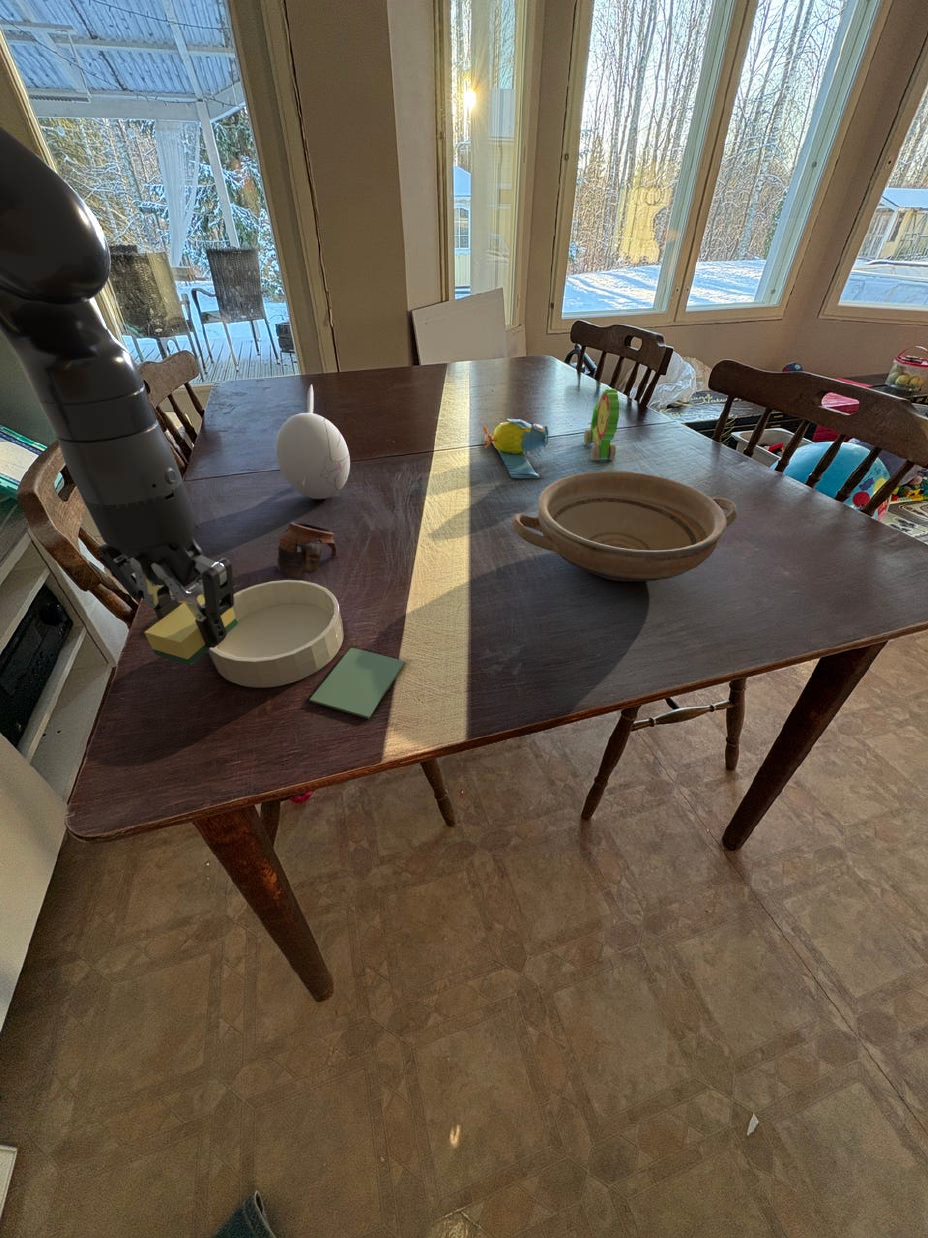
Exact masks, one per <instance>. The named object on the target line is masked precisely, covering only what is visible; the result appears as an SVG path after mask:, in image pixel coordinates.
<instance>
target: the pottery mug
mask: <svg viewBox="0 0 928 1238" xmlns="http://www.w3.org/2000/svg"><path fill="white" fill-rule="evenodd" d="M334 536H335V533H333V532H332V531H331V530H330V529H328V528H324V527H321V526H316V525H313V524H308V523H304V522H300V521H289V522H288V528H287V529H285V531H284V532H282V534H281V536H280V537H279V541H278V543H279V545H278V553H277V554H278V555H277V557H276V562H277V570H278V571H279V572H280V573H282V574H284V575H287V576H288V577H292V578H296V579H300V578H301V576H302V573H301V572H302V571H303V572H305V573H307V574H313V573H316V572H317V571H318V570H319V567H320V559H321V557H322V553H323V550H322V545H323V544H326V545H327V546H329V547H330V548H331V556H332V557H334V558H335V557H337V553H338V552H337V545H336V543H335V541H334ZM321 544H322V545H321ZM298 547H300V551H298Z"/></svg>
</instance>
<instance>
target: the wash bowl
mask: <svg viewBox="0 0 928 1238" xmlns="http://www.w3.org/2000/svg"><path fill="white" fill-rule="evenodd" d="M232 609H233V612H234V615H235V618H236V620H237V623H238V624H237V625H236V626H235V627H234V628H232V629H231V630H230V631H229V632H228V633H227V636H226V637H225V639H224V640H223V641H222V642H221V643H219V644H218V645H217V646H216V647H215V648H210V649H209V650H207V652H208V654H209V657H210V659H211V661H212V664H213V665H214V667H215V669H216V671H217V672H218V673H219V675H220V676H222V677H223V678H224V679H225V680H227V681H229V682H230V683H233V684H235V685H239V686H243V687H247V688H262V689H263V688H264V689H265V688H274V687H280V686H284V685H289V684H293V683H295V682H299V681H301V680H303V679H305V678H308V677H310V676H312V675H314V674H315V673H317V672H319V671H320V670H321V669H323V668H325V667H326V665H328V664H329V663H330V662H331V661H332V660H333V659H334V658H335V657H336V655H337V654H338V652H339V651H340V649H341V647H342V644H343V641H344V625H343V619H342V614H341V610H340V604H339V602H338V600H337V598H336V596H335V595H334V593H332V592H331V591H330V590H329V589H328V588H326V587H324V586H322V585H320V584H318V583H315V582H311V581H305V580H299V579H298V580H297V579H282V580H272V581H268V582H263V583H259V584H255V585H253V586H249V587H246V588H244V589H241V590H239V591H237V592H236V593H234V606H233V607H232Z"/></svg>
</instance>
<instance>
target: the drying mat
mask: <svg viewBox="0 0 928 1238" xmlns="http://www.w3.org/2000/svg"><path fill="white" fill-rule="evenodd" d="M405 664H406V661H405V660H402V659H398V658H394V657H390V656H386V655H382V654H378V653H375V652H371V651H366V650H363V649H359V648H355V647H350V648H349V649H348V651H347V652H345V654H344V656H343V657H342V658H341V659H340V660H339V662H338V663H337V664H336V666H335V667H334V668H333V670H331V672H330V673H329V674H328V676H327V677H326V678H325V680H324V681H323V682H322V683H321V684H320V685H319V687H318V688H317V689H316V691H315V692H314V693H313V694H312V695H311V697H310V698H309V702H310V703H313V704H317V705H319V706H324V707H327V708H331V709H334V710H337V711H341V712H344V713H347V714H351V715H354V716H358V717H361V718H364V719H368V720H369V719H370V717H372V715H373V713H374V711H375V710H376V708H377V707H378V706H379V704H380V702H381V700H382V699H383V698H384V697H385V695H386V694H387V692H388V690H389V689H390V687H391V686H392V684H393V683H394V681H395V680H396V678H397V676H398V675H399V673H400V672H401V670H402V669H403V667H404V666H405Z"/></svg>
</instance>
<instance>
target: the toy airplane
mask: <svg viewBox="0 0 928 1238" xmlns="http://www.w3.org/2000/svg"><path fill="white" fill-rule="evenodd" d="M506 420H507V421H504V422H501V423H499V424H498V425H497V426H496V427H495V429H494V430H493V434H490V432H489V431H488V429H487V427H485V426H481V427H482V430H483V432H484V441H483V446H485V448H484V449H487V448H489V447H490V446H491V445H493V447H494V448H495V449H496V450H497V451H498V453H499V456H500V458H501V460H502V461H503V463H504V465H505V467H506V469H507V471H508V475H510V477H511V478H512V479H524V480H529V479H540V475H539V474H538V473H536V471H535V470H534V468H533V466H532V465H531V463H530V462H529V460H528V458H527V456H526V455H525V453H527V452H530V451H533V450H536V449H538V448H541V447H544V448H546V446H547V445H548V443H549V435H550V433H549V429H548V426H547V425H545V426H544V425H542V424H540V423H537V422H528V421H525V420H523V419H519V418H518V419H514V418H510V419H509V418H507V419H506Z"/></svg>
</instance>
